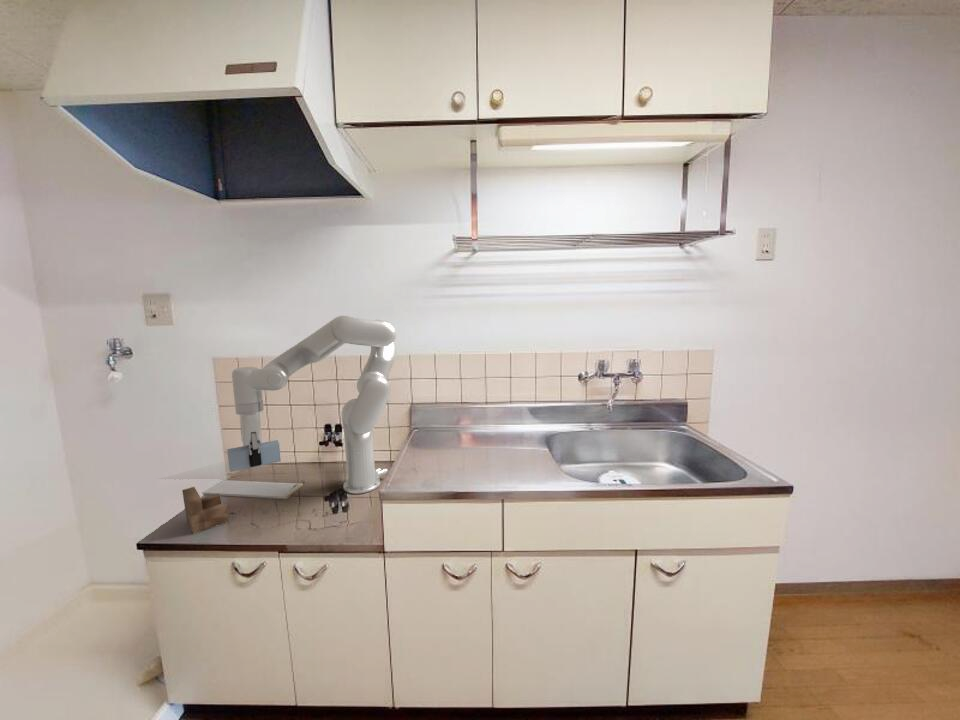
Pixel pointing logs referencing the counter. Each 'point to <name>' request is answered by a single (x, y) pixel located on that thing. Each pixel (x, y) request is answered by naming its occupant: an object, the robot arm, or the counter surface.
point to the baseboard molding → (253, 489)
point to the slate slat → (240, 455)
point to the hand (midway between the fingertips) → (254, 462)
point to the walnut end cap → (203, 510)
